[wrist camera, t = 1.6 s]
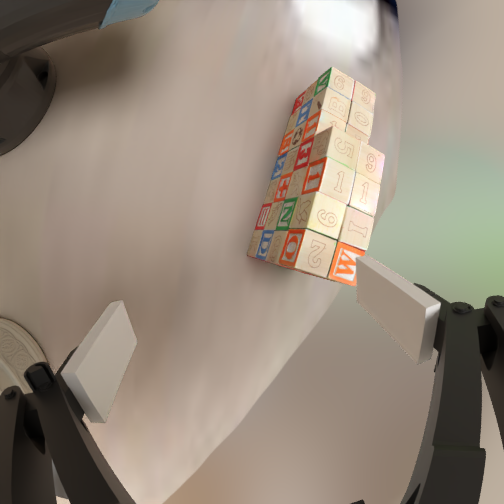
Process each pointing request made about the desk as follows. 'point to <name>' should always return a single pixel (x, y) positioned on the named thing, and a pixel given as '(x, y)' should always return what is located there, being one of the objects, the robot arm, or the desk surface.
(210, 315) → the desk surface
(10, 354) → the jar
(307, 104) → the stack of blocks
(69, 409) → the robot arm
